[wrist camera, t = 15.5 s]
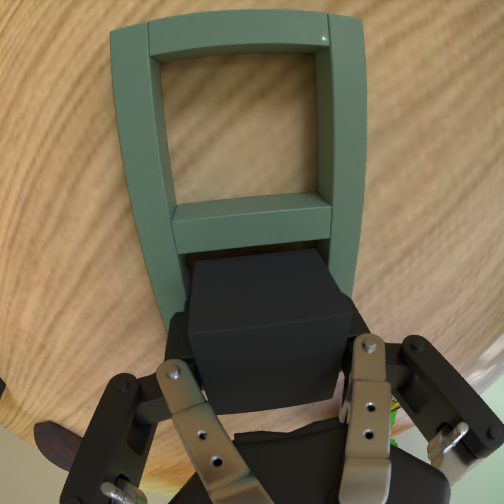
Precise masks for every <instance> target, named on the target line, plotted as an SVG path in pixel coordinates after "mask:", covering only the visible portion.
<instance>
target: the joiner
mask: <svg viewBox="0 0 504 504" xmlns="http://www.w3.org/2000/svg"><path fill="white" fill-rule="evenodd" d="M261 52H289V53H315V67H316V86H317V114H318V193H317V192H308V193H294V194H280V195H268V196H257V197H246V198H235V199H226V200H216V201H207V202H199V203H190V204H182V205H177V204H176V198H175V192H174V185H173V179H172V172H171V165H170V158H169V150H168V142H167V134H166V126H165V117H164V108H163V98H162V87H161V75H160V63H162V62H168V61H174V60H180V59H187V58H195V57H203V56H212V55H223V54H237V53H261ZM110 53H111V70H112V83H113V93H114V103H115V112H116V120H117V128H118V135H119V141H120V148H121V154H122V160H123V166H124V171H125V177H126V182H127V187H128V192H129V197H130V202H131V207H132V211H133V216H134V220H135V224H136V229H137V233H138V237H139V241H140V245H141V249H142V252H143V256H144V260H145V264H146V267H147V271H148V274H149V278H150V281H151V285H152V288H153V291H154V295H155V298H156V301H157V304H158V308H159V311H160V314H161V317H162V320H163V323H164V326H165V329H166V332H167V335H168V330H169V324H170V319H171V318H172V317H173V315H174V314H175V312H183V311H184V306H185V301H186V300H190V297H191V288H192V284H191V279H190V274H189V269H188V264H187V259H186V254H185V253H194V252H204V251H213V250H222V249H232V248H241V247H250V246H260V245H270V244H279V243H289V242H298V241H308V240H316V250H317V251H318V253H319V255H320V256H321V258H322V260H323V261H324V263H325V265H326V266H327V268H328V270H329V272H330V273H331V275H332V277H333V278H334V280H335V282H336V284H337V285H338V287H339V289H340V290H341V292H342V293H344V294H346V295H347V296H348V297H350V298H351V296H352V290H353V284H354V278H355V271H356V264H357V257H358V249H359V241H360V232H361V223H362V213H363V201H364V188H365V172H366V150H367V81H366V60H365V46H364V34H363V24H362V19H360V18H355V17H349V16H343V15H336V14H327V13H323V12H313V11H302V10H284V9H239V10H222V11H210V12H201V13H193V14H185V15H179V16H173V17H167V18H162V19H156V20H152V21H148V22H144V23H139V24H135V25H131V26H127V27H124V28H120V29H116V30H113V31H111V32H110Z"/></svg>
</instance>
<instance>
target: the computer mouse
mask: <svg viewBox="0 0 504 504" xmlns="http://www.w3.org/2000/svg"><path fill="white" fill-rule="evenodd" d="M34 438H35V442H36V445H37V447H38V448H39V450H40V451H41V453H42V454H43V455H44V456H45V457H46V458H47V459H48V460H49V461H51V462H52V463H53V464H55V465H56V466H58V467H60V468H62V469H64V470H66V471H70V469H71V466H72V464H73V461H74V459H75V456H76V454H77V452H78V449H79V447H80V444H81V442H82V440H83V439H82V438H80V437H78V436H77V435H75V434H73V433H71V432H70V431H68V430H66V429H64V428H62V427H60V426H58V425H57V424H55V423H53V422H50V421H48V422H45V423H41V424H36V425H35V426H34Z"/></svg>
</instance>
